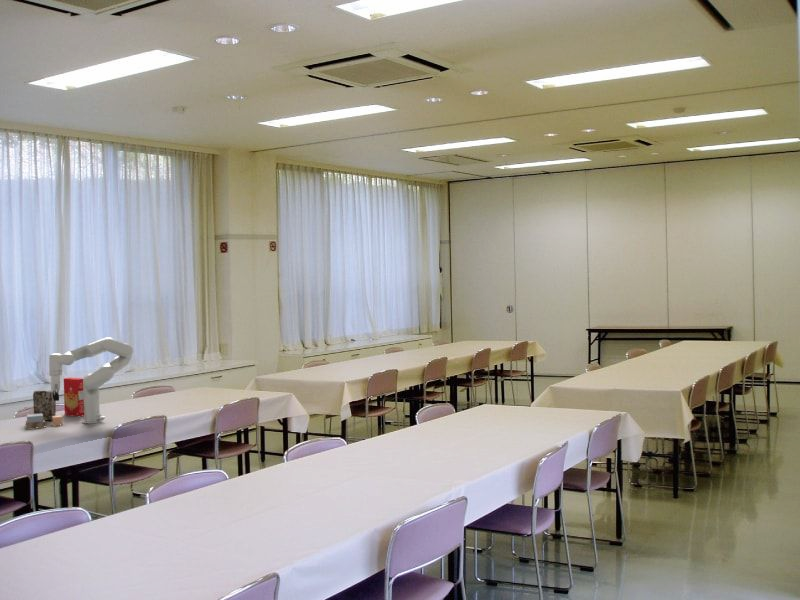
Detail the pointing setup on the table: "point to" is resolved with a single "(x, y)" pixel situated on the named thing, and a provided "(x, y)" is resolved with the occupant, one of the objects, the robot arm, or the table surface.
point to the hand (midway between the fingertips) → (55, 399)
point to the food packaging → (73, 396)
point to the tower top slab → (34, 418)
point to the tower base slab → (35, 424)
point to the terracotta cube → (57, 420)
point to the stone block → (44, 403)
